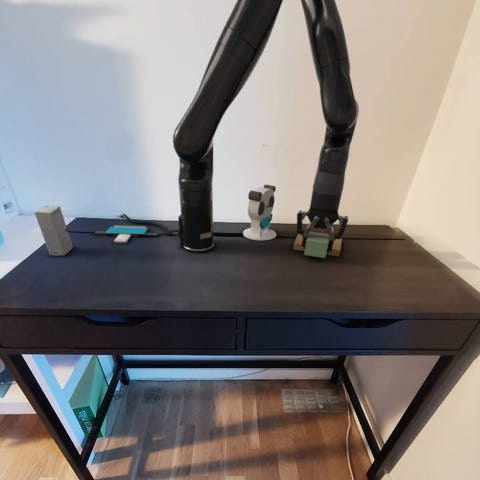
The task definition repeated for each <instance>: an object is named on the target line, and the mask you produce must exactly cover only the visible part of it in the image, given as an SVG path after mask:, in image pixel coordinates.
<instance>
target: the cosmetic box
mask: <svg viewBox="0 0 480 480" xmlns="http://www.w3.org/2000/svg"><path fill="white" fill-rule="evenodd" d="M34 215H35V218H36V221H37V224H38V226H39V229H40V232H41V235H42V237H43V241H44V243H45V245H46V248H47V251H48V254H49V256H53V257H54V256H55V257H64V256H66V255H67V254H68V253H69V252H71V250H72V249H73V248H74V247H73V243H72V240H71V236H70V233H69V230H68V228H67V224H66V221H65V218H64V215H63V212H62V209H61V206H60V205H45V206H43V207H40V208H39V209H38V210H36V211H34Z"/></svg>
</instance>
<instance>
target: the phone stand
mask: <svg viewBox="0 0 480 480" xmlns="http://www.w3.org/2000/svg"><path fill="white" fill-rule="evenodd" d="M148 231H149V229H148V228H147V225H133V224H132V225H131V224H113V226H110V227H109V228H108V229H107V230H96V231H94V235H95V236H96V235H97V236H116V237H115V239H114V240H113V243H114V244H127V243H128V242H129V240H130V239H131V237H145V238H151V237H152V238H153V237H154V238H156V237H158V235H159V234H158V232H148Z"/></svg>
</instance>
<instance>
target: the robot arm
mask: <svg viewBox="0 0 480 480" xmlns="http://www.w3.org/2000/svg"><path fill="white" fill-rule="evenodd" d="M283 2H284V0H236V3H235V4H234V7H233V8H232V11H231V13H230V15H229V17H228V18H227V20H226V22H225V24H224V27H223V28H222V30H221V33H220V35H219V37H218V39H217V42H216V44H215V46H214V49H213V51H212V53H211V56H210V58H209V60H208V63H207V65H206V68H205V71H204V73H203V76H202V78H201V81H200V84H199V86H198V89H197V91H196V93H195V95H194V97H193V99H192V101H191V103H190V104H189V106H188V108H187V110H185V112H184V114H183V116H182V118H181V119H180V121H179V123H178V124H177V125H176V127H175V129H174V131H173V135H172V144H173V149H174V152H175V154H176V155H177V157H178V159H179V172H178V180H177V181H178V193H179V205H180V208H179V209H180V214H179V215H178V218H177V219H178V229H171V230H169V231H168V230H167V229H166V227H165V226H164V225H162V224H160V223H159V222H154V221H142V220H141V221H140V220H134V219H131V218H130V217H129V216H128V215H126V214H125V213H122V214H123V216H122V214H120V216H119V218H123V217H124V218H125V219H126V220H127V221H129V222H130V223H134V224H139V225H153V226H157V227H159V228H161V229H162V230H163V232H164V233H165V234H166V235H168V236H171V235H172V234H173V233H177V238H179V242H180V248H181V249H183V250H185V251H188V252H192V253H205V252H208V251H211V250H213V249H214V247H215V243H214V205H213V204H214V199H213V197H214V195H213V194H214V191H213V189H214V188H213V187H214V186H213V181H214V180H213V179H214V136H215V134H216V132H217V130H218V128H219V126H220V123H221V121H222V119H223V117H224V115H225V114H226V112H227V110H228V109H229V107H230V106H231V105H232V103H233V102H234V101H235V99H236V98H237V97H238V96H239V94H240V93H241V91H242V90H243V88H244V87H245V85H246V84H247V82H248V80H249V79H250V77H251V76H252V74H253V72H254V70H255V68H256V67H257V65H258V63H259V61H260V59H261V58H262V55H263V54H264V52H265V49H266V47H267V45H268V43H269V40H270V39H271V38H270V37H271V35H272V33H273V29H274V26H275V25H276V22H277V18H278V16H279V12H280V10H281V7H282V5H283ZM300 3H301V7H302V11H303V15H304V20H305V25H306V33H307V37H308V43H309V48H310V54H311V57H312V62H313V68H314V71H315V75H316V79H317V83H318V87H319V95H320V96H319V97H320V104H321V110H322V116H323V120H324V124H325V126H326V127H325V134H324V140H323V143H322V145H321V148H320V152H319V156H318V161H317V167H316V172H315V176H314V179H313V184H312V191H311V198H310V205H309V208H308V210H307V211H303V210H301V209H300V210H298V212H297V214H296V234H297V235H298V234H301V235H302V236H303V240H302V247H304V248H303V249H305V247H306V241H307V238H308V234H309V233H310V232H312V230H313V229H321V230H326V231H327V234H329V243H328V248H327V253H329V251H331V250H332V247H333V243H334V240H336V239H338V240H340V239H341V238H342V239H343V235H344V233H345V230H346V228H347V225H348V222H349V216H348V215H345V216H343V215H340V214H339V210H340V205H341V199H342V194H343V191H344V185H345V178H346V171H347V166H348V161H349V156H350V149H351V148H350V147H351V144H352V141H353V138H354V134H355V130H356V126H357V122H358V119H359V112H360V109H359V108H360V107H359V103H358V101H357V99H356V97H355V93H354V88H353V84H352V79H351V62H350V56H349V55H350V54H349V51H348V45H347V44H348V43H347V39H346V34H345V30H344V25H343V22H342V18H341V16H340V12H339V9H338V5H337V3H336V0H300ZM306 217H307V219H308V220H309V224H308V225H307V227H306V228H305V229H304V228H303V223H304V222H303V221H304V220H306V219H305V218H306ZM337 221H339V222H338V225H339V229H338V232H337V233H335V231H334V226H333V225H334V224H335V223H336V222H337Z"/></svg>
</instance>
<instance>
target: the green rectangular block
mask: <svg viewBox="0 0 480 480" xmlns="http://www.w3.org/2000/svg"><path fill="white" fill-rule="evenodd" d="M322 234H323V233H322ZM322 234H314V233H309V235H308V238H307V241H306V247H305V251H304V253H303V254H304V256H308V257H315V258H322V259H326V258H327V257H326V256H327V255H326V252H327V248H328V243H329V235H322Z"/></svg>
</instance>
